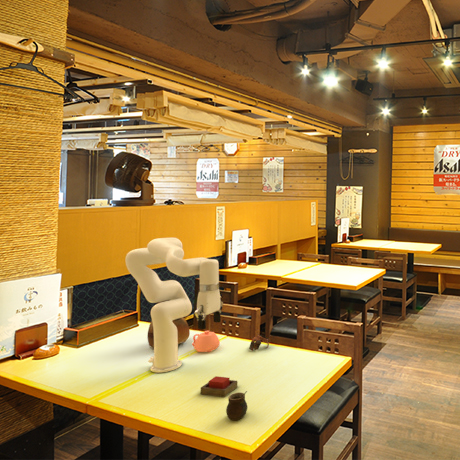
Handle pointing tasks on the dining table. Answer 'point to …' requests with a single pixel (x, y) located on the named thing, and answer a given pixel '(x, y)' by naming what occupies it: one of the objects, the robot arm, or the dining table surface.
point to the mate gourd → (236, 406)
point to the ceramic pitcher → (181, 330)
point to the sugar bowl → (206, 342)
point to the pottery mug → (258, 342)
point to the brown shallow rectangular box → (218, 389)
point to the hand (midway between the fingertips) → (209, 325)
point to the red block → (219, 382)
